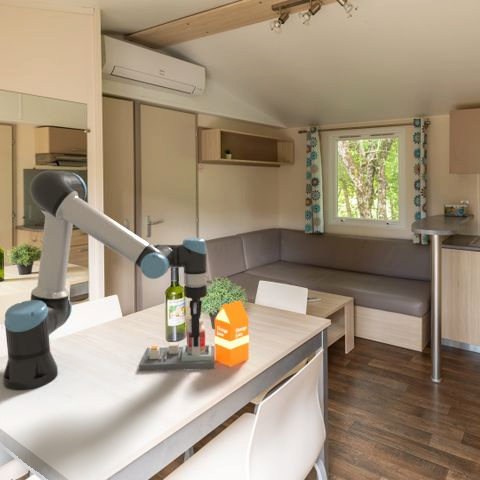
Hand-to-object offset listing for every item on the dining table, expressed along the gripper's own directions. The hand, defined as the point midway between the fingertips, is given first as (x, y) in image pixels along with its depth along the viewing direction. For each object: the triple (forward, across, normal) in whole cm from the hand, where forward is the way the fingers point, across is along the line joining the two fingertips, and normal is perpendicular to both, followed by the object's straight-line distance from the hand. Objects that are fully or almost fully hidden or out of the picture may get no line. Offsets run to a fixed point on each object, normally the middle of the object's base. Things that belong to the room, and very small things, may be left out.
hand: (196, 350), depth 144 cm
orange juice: (+4, 0, -12) cm, 13 cm away
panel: (+3, 0, +6) cm, 7 cm away
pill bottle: (+1, 0, 0) cm, 1 cm away
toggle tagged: (+1, -2, +14) cm, 14 cm away
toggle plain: (+1, +2, +8) cm, 8 cm away
